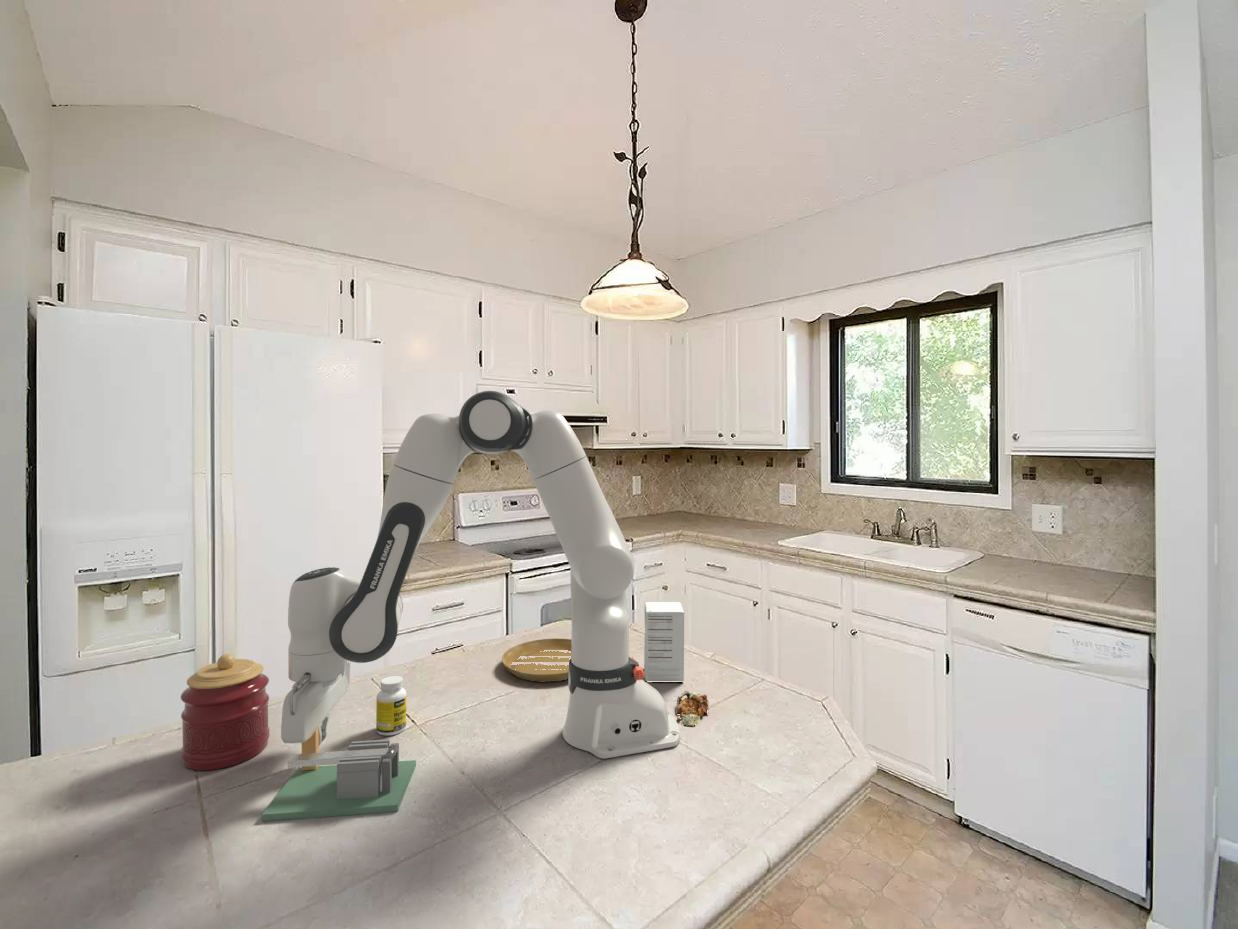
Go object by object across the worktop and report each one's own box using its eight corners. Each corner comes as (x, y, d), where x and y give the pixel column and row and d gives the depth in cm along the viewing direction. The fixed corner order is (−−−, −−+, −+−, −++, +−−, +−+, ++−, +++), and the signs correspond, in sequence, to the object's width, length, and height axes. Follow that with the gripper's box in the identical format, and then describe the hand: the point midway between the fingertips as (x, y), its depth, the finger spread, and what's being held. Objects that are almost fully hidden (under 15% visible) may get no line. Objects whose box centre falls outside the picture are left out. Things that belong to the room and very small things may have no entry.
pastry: (675, 727, 113) (675, 710, 113) (676, 701, 125) (676, 685, 125) (710, 730, 112) (711, 712, 112) (708, 703, 124) (708, 687, 124)
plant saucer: (511, 694, 128) (511, 679, 128) (494, 657, 150) (494, 644, 150) (612, 678, 136) (612, 665, 136) (582, 646, 159) (582, 634, 159)
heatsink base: (415, 766, 98) (415, 729, 98) (397, 811, 86) (397, 769, 86) (298, 773, 96) (298, 735, 95) (262, 821, 83) (261, 778, 83)
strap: (397, 753, 93) (397, 744, 93) (392, 763, 90) (392, 754, 90) (295, 760, 91) (295, 751, 91) (286, 770, 88) (286, 761, 88)
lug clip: (318, 765, 96) (318, 724, 96) (308, 779, 92) (308, 736, 92) (304, 766, 96) (304, 724, 95) (294, 780, 92) (294, 736, 92)
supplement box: (684, 684, 133) (685, 612, 133) (645, 683, 133) (645, 612, 133) (680, 668, 143) (681, 601, 142) (643, 667, 143) (644, 601, 142)
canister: (285, 743, 105) (284, 648, 105) (210, 780, 93) (208, 674, 93) (241, 728, 111) (240, 638, 110) (165, 761, 99) (163, 661, 98)
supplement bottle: (396, 738, 107) (395, 686, 107) (370, 735, 108) (370, 684, 108) (412, 724, 113) (411, 675, 112) (387, 721, 114) (387, 673, 113)
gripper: (312, 687, 88) (313, 775, 89) (356, 642, 109) (356, 714, 109) (269, 689, 88) (269, 777, 88) (321, 643, 108) (322, 715, 108)
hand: (318, 742), depth 99 cm, fingers closed
